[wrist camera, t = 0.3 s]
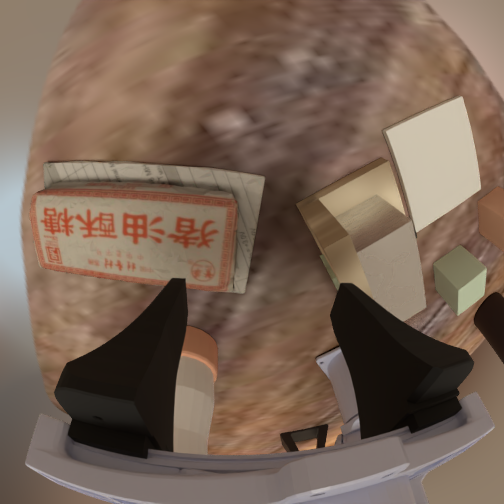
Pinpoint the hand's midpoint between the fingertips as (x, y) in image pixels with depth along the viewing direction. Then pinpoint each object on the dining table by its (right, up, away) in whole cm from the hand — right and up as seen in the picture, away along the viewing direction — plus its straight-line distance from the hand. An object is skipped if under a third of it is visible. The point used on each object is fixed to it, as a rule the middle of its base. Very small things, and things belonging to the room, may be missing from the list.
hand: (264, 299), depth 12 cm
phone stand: (+9, -33, +31) cm, 46 cm away
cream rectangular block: (+10, +2, +9) cm, 14 cm away
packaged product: (-9, +5, +8) cm, 13 cm away
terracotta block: (+27, +7, +10) cm, 29 cm away
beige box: (+10, +3, +10) cm, 14 cm away
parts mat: (+16, +10, +7) cm, 20 cm away
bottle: (+38, -7, +19) cm, 43 cm away
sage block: (+22, 0, +13) cm, 26 cm away
